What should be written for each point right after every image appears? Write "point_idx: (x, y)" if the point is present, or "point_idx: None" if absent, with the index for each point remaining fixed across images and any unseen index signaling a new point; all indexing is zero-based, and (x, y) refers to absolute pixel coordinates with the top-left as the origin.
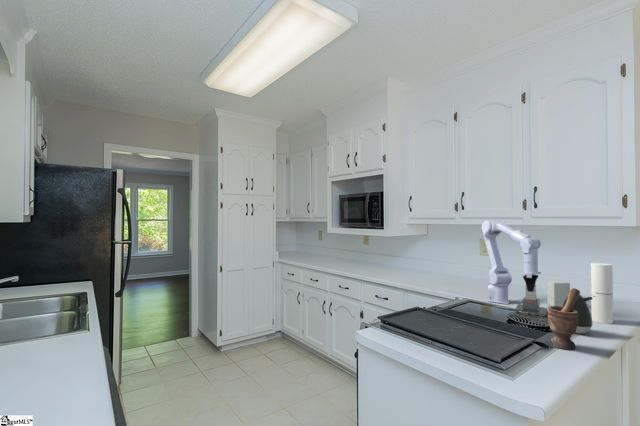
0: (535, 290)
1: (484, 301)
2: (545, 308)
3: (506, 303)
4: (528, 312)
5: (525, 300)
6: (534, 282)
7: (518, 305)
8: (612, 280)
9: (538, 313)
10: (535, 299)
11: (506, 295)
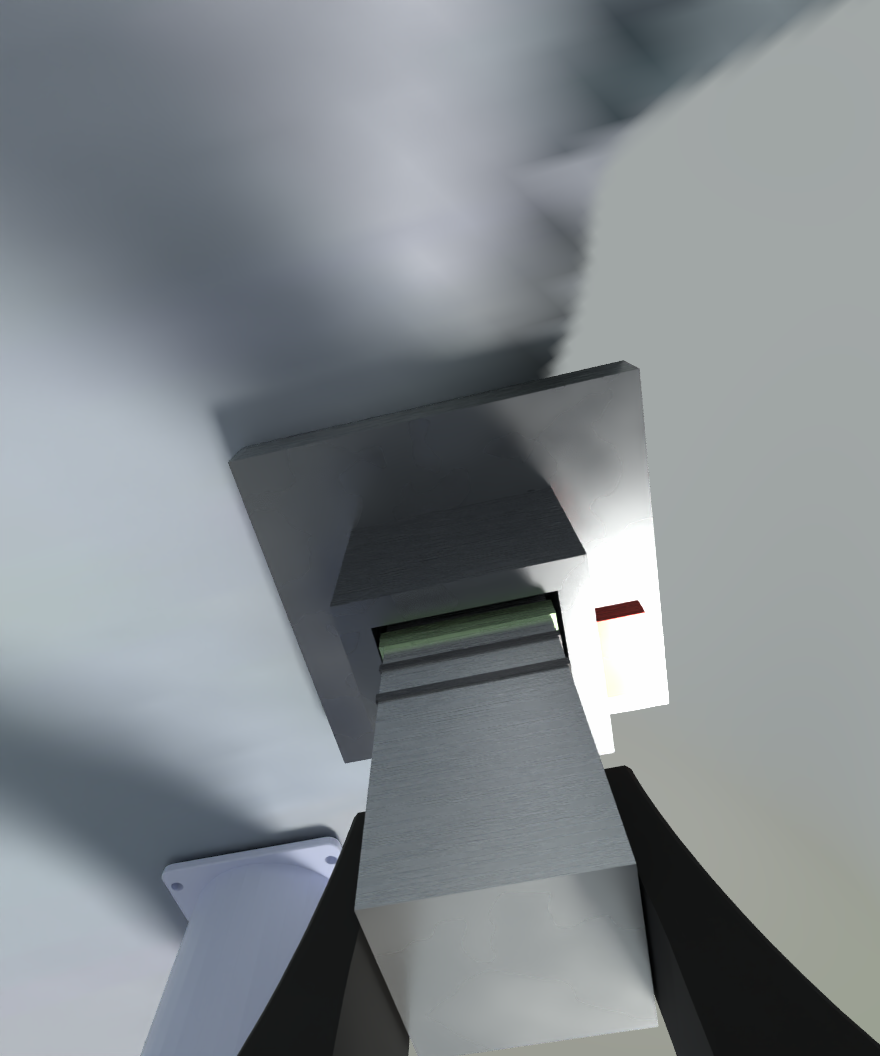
0: (600, 759)
1: None
2: (276, 471)
3: (340, 849)
4: (651, 565)
5: (609, 715)
6: (871, 1039)
7: None
8: None
9: (644, 455)
10: (551, 620)
11: (271, 953)
